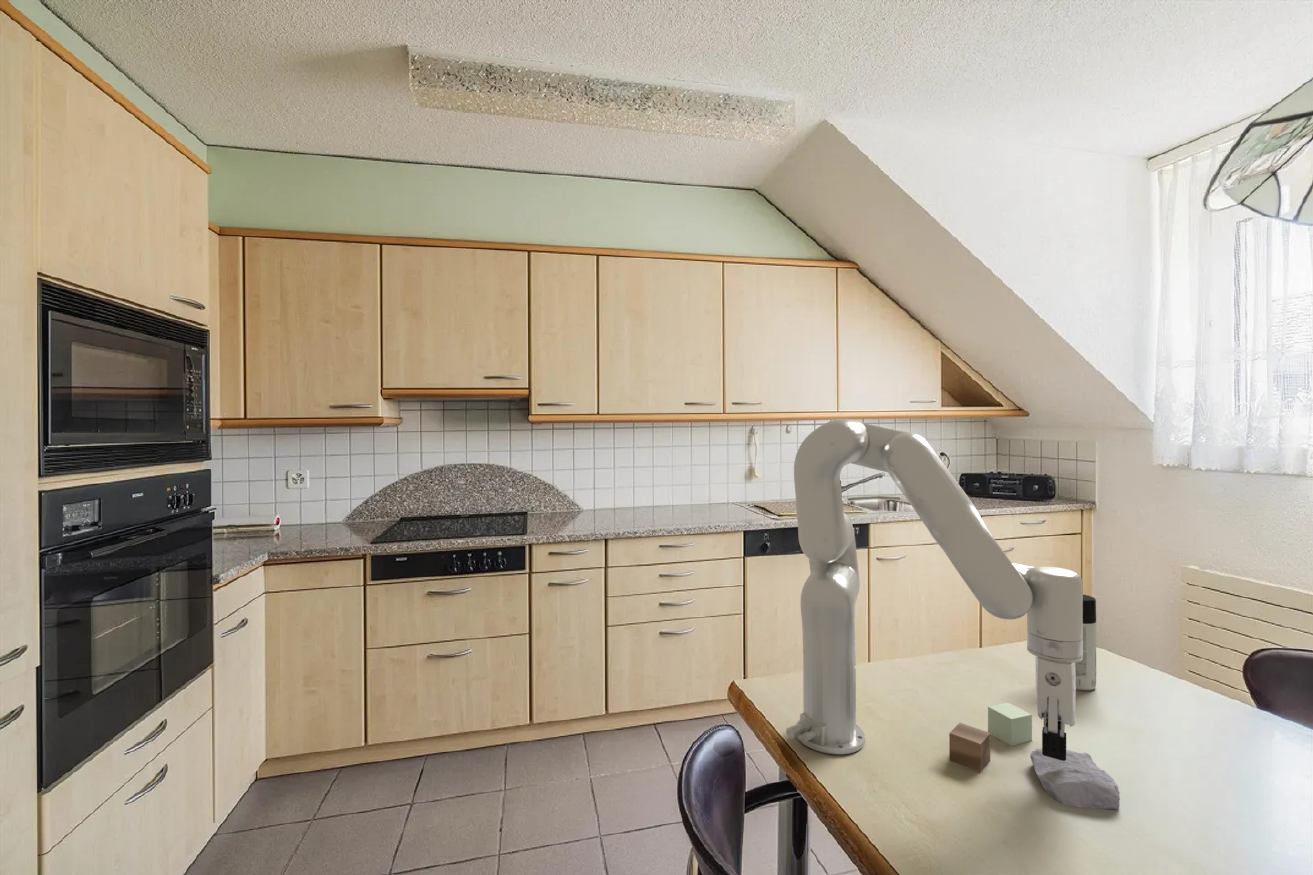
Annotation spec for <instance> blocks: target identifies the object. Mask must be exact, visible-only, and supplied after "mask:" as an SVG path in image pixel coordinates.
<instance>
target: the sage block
mask: <svg viewBox="0 0 1313 875" xmlns="http://www.w3.org/2000/svg"><path fill="white" fill-rule="evenodd" d="M987 732H989V733H990V735H993V736H995V737H996V738H998V739H999V740H1001V741H1003V743H1006V744H1008V745H1009V746H1010V747H1011V746H1016V745H1021V744H1025V743H1028V742H1032V741H1033V714H1031V713H1030V712H1027V711H1026V710H1024V709H1022V708H1019V707H1018V706H1016V705H1013V704H1012V703H1010V702H1004V703H999V704H995V705H990V706H987Z"/></svg>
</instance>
